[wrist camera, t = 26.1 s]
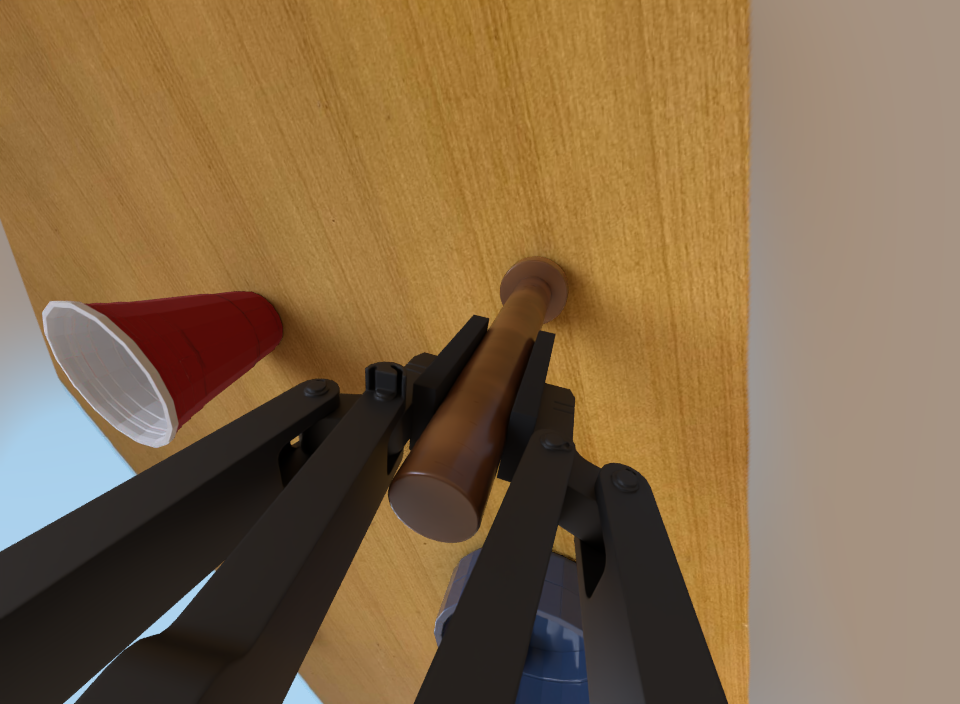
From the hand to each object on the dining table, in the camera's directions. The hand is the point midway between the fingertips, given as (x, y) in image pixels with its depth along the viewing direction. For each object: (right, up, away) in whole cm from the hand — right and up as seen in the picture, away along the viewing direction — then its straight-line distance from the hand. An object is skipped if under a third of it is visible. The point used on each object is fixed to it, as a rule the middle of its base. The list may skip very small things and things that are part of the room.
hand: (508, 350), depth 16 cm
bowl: (+5, -28, +22) cm, 36 cm away
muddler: (+2, +4, +7) cm, 9 cm away
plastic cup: (-22, +3, +16) cm, 28 cm away
